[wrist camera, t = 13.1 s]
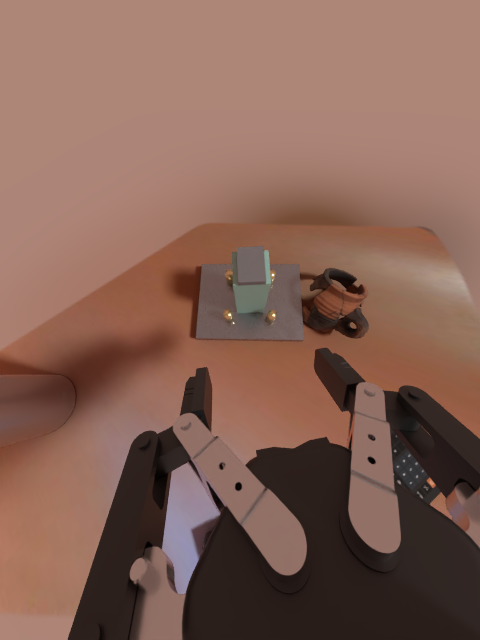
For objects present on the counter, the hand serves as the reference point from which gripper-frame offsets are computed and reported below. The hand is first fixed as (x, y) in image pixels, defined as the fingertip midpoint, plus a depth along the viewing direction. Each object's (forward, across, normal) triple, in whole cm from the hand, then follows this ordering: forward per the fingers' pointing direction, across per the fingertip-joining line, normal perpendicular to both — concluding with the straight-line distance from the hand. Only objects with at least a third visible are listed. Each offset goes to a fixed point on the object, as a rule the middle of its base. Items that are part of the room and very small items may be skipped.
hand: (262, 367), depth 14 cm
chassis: (+22, -2, +4) cm, 22 cm away
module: (+21, -2, +3) cm, 21 cm away
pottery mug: (+19, -16, +7) cm, 26 cm away
